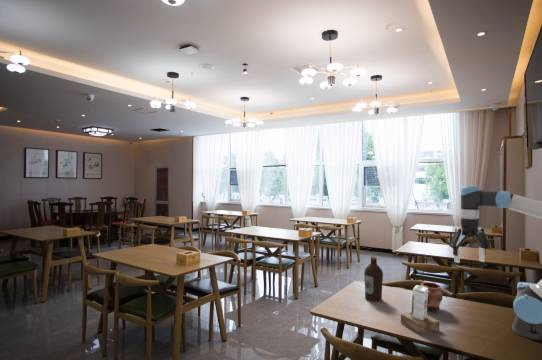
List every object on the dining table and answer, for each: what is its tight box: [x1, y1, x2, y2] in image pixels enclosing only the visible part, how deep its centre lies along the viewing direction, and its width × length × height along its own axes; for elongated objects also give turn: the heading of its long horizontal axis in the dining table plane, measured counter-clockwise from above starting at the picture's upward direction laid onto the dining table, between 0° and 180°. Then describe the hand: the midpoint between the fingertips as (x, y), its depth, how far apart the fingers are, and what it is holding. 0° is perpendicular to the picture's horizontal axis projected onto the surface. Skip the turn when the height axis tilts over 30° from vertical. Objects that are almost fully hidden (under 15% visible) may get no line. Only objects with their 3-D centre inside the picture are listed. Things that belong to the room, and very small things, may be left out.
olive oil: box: [363, 256, 384, 303], centre depth 193 cm, size 11×11×25 cm
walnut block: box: [400, 312, 440, 335], centre depth 156 cm, size 12×12×5 cm
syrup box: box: [410, 284, 428, 321], centre depth 156 cm, size 6×6×14 cm
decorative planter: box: [419, 281, 443, 313], centre depth 177 cm, size 20×12×14 cm, turn 148°
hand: (469, 261), depth 156 cm, fingers open, 13 cm apart
